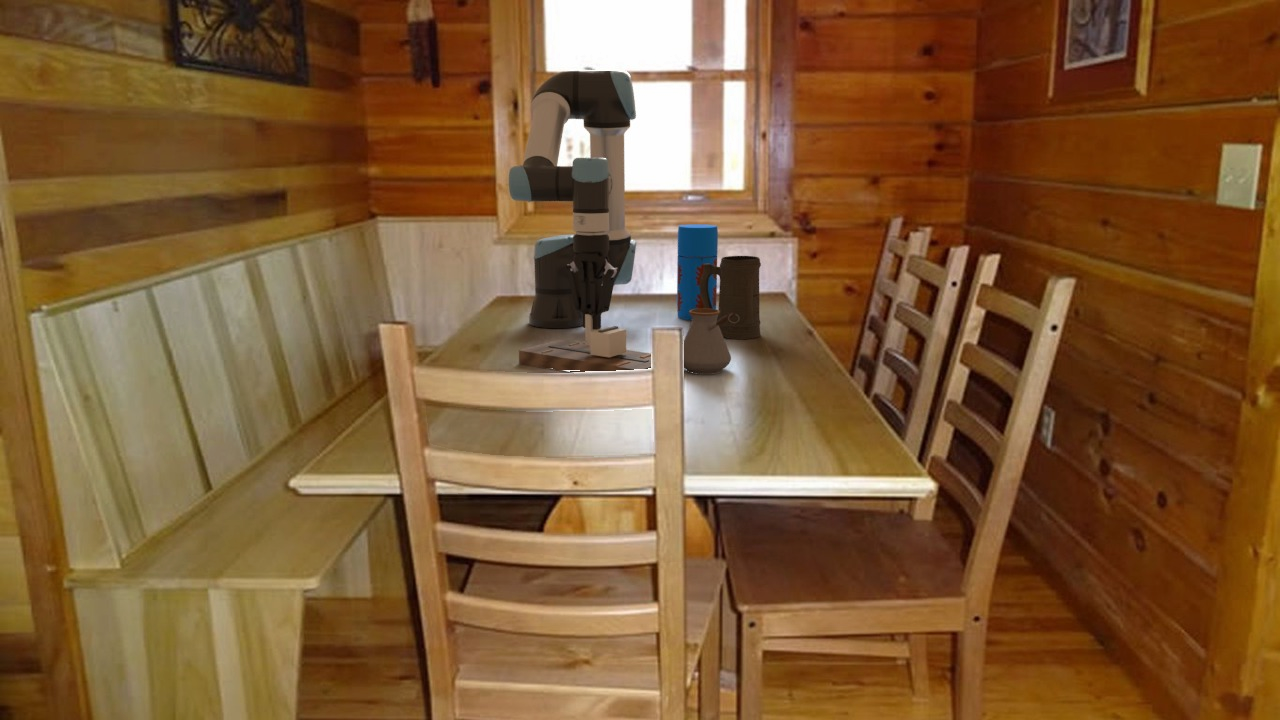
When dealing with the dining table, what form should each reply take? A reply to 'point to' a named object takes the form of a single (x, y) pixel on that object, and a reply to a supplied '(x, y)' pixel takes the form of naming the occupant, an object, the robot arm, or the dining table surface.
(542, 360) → the fader panel
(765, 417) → the dining table surface
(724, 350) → the coffee pot
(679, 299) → the thermos
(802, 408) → the dining table surface
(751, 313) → the beer stein
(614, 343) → the fader knob
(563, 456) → the dining table surface
